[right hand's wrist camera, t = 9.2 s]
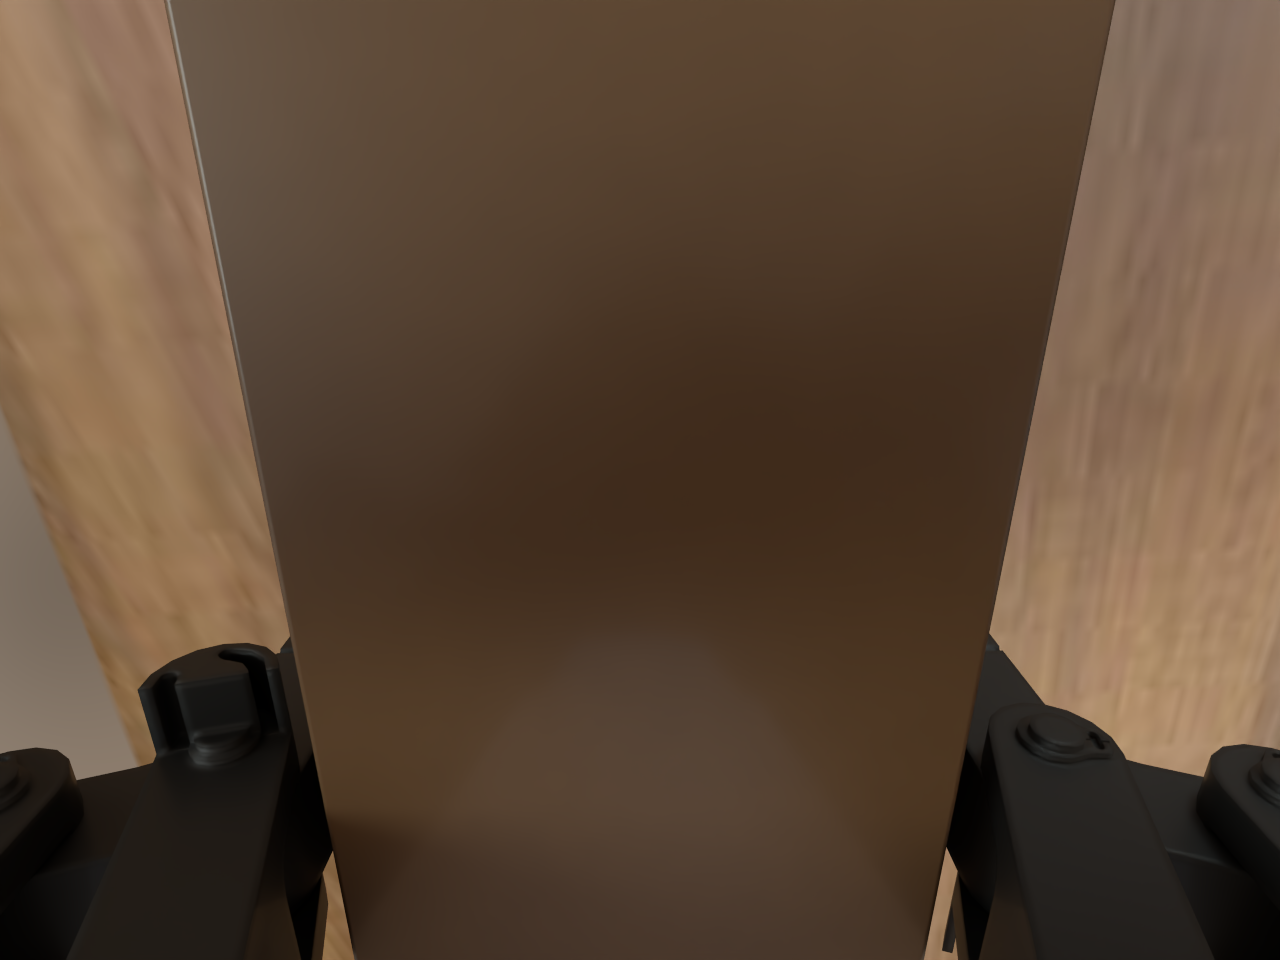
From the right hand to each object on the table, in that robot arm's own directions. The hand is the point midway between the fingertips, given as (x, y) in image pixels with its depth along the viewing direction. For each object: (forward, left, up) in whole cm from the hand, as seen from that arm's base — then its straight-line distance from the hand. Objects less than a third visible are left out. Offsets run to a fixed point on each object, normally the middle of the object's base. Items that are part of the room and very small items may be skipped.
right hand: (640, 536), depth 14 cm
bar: (+10, 0, -1) cm, 10 cm away
